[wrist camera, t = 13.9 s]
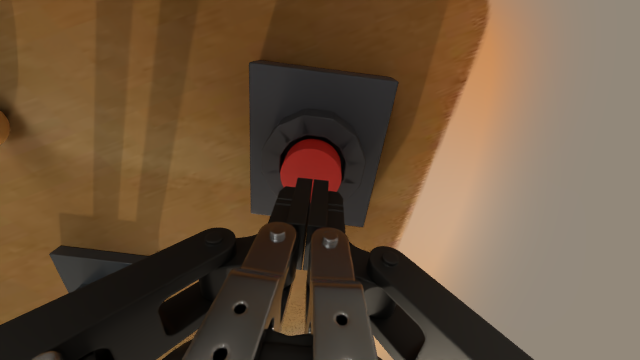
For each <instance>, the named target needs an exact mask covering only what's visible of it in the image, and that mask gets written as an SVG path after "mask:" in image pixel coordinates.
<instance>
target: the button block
mask: <svg viewBox="0 0 640 360" xmlns="http://www.w3.org/2000/svg"><path fill="white" fill-rule="evenodd" d="M397 87H398V81H396V80H395V79H393V78H391V77H385V76H377V75H370V74H362V73H354V72H347V71H339V70H331V69H324V68H316V67H308V66H301V65H293V64H285V63H278V62H270V61H262V60H258V61H253V62H250V63H249V93H250V183H251V213H253V214H261V215H269V216H271V213H272V211H273V208H274V205H275V202H276V199H277V197H278V194H279V191H280V190H282V189H283V188H284V187H283V185H282V182H281V178H280V172H281V167H282V164H283V162H284V160H285V158H286V155H287V153H288V151H289V150H290V148H291V147H292V146H293V145H295V144H296V143H298V142H300V141H302V140H306V139H319V140H322V141H325V142H327V143H328V144H330V145H331V146H332V147H333V148H334V149H335V150H336V151H337V153H338V155H339V157H340V161H341V175H342V179H341V184H340V187H339V189H338V190H337V192H339V193H340V195H341V196H342V198H343V204H344V206H343V207H344V221H345V225H349V226H357V227H363V226H364V222H365V218H366V214H367V210H368V206H369V202H370V197H371V193H372V189H373V185H374V181H375V177H376V173H377V169H378V165H379V161H380V156H381V152H382V148H383V144H384V140H385V136H386V132H387V128H388V124H389V120H390V115H391V111H392V107H393V103H394V99H395V95H396V91H397ZM310 204H311V203H310Z"/></svg>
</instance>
